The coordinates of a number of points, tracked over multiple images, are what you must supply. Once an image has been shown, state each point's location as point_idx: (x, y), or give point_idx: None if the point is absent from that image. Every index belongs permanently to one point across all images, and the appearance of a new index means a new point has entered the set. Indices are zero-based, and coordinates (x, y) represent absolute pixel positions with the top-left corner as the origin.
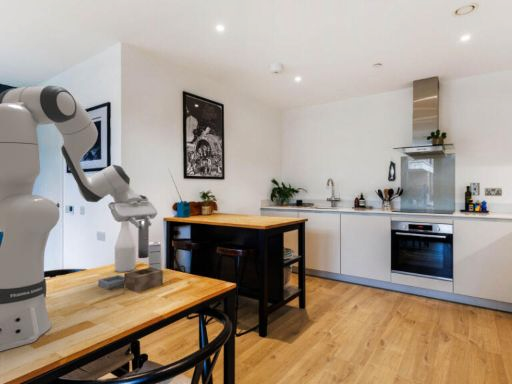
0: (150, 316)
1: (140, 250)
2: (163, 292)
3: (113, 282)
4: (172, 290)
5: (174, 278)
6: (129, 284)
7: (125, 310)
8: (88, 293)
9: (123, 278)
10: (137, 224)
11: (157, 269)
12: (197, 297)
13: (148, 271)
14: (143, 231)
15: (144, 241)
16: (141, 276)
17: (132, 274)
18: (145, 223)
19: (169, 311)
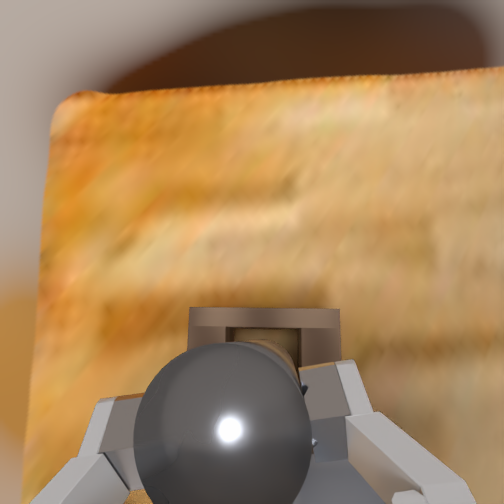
0: (415, 92)
1: (293, 363)
2: (263, 230)
3: None
4: (228, 221)
5: (115, 344)
6: None
7: (447, 187)
8: (476, 488)
9: (300, 499)
10: (362, 390)
11: (191, 348)
12: (226, 102)
13: None
14: (275, 351)
15: (269, 343)
16: (312, 309)
17: None
18: (244, 343)
19: (357, 80)
